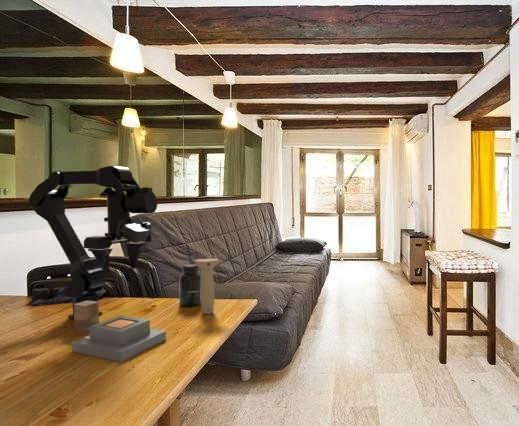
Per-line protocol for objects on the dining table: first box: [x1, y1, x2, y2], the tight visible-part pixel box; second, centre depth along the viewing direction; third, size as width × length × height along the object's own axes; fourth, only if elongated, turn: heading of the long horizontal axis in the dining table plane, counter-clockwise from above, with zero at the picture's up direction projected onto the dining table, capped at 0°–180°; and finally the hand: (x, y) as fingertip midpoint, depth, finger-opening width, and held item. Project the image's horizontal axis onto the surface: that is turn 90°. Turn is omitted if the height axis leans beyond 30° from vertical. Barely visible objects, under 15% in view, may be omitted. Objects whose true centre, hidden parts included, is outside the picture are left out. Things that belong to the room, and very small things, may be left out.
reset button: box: [105, 320, 135, 329], centre depth 91 cm, size 5×5×3 cm
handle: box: [194, 258, 219, 315], centre depth 115 cm, size 5×6×15 cm
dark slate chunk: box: [30, 286, 106, 306], centre depth 136 cm, size 15×22×5 cm
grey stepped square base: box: [71, 314, 167, 363], centre depth 91 cm, size 14×14×5 cm
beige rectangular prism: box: [73, 301, 100, 336], centre depth 102 cm, size 4×4×7 cm
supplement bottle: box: [178, 263, 201, 308], centre depth 125 cm, size 7×7×12 cm
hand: (120, 271), depth 110 cm, fingers open, 9 cm apart
